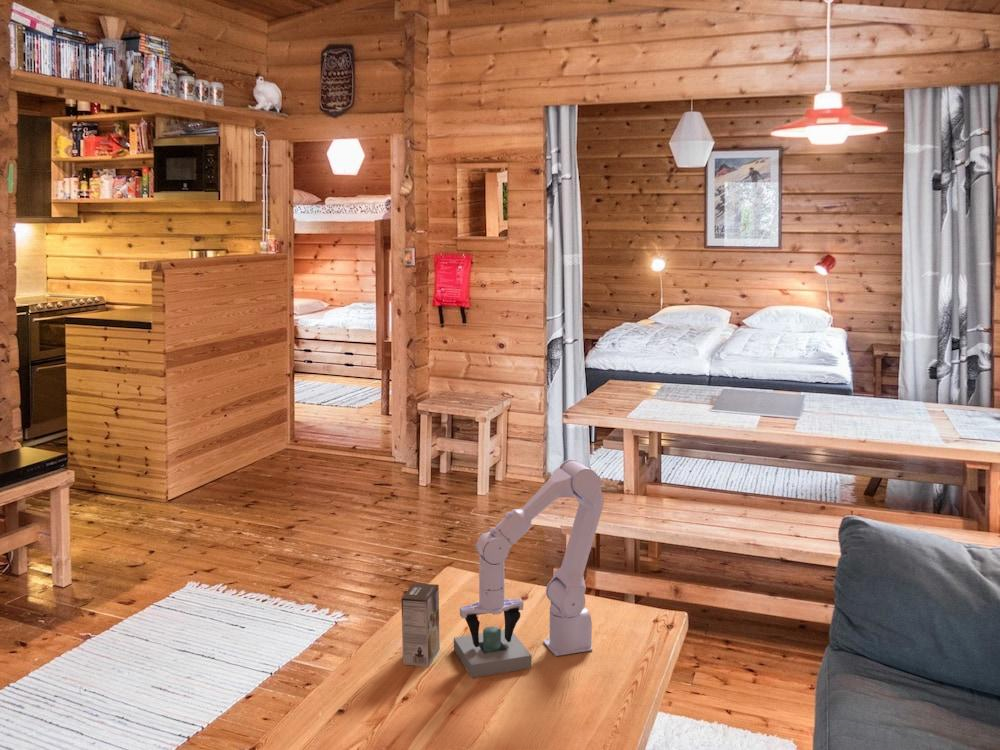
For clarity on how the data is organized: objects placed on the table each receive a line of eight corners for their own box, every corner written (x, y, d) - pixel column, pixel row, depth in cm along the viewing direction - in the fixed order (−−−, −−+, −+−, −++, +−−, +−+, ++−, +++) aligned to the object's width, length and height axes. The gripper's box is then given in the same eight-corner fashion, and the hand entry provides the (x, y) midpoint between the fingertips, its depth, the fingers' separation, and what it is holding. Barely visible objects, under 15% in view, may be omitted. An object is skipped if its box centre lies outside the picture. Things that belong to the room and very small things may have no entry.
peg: (496, 653, 211) (496, 625, 209) (503, 661, 207) (503, 632, 206) (480, 657, 209) (480, 628, 208) (487, 664, 205) (487, 635, 204)
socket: (510, 641, 217) (510, 629, 217) (531, 667, 204) (531, 655, 203) (453, 649, 213) (453, 637, 212) (471, 677, 200) (471, 665, 199)
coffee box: (413, 646, 214) (412, 581, 211) (440, 649, 213) (439, 584, 210) (401, 665, 205) (400, 597, 203) (429, 667, 204) (428, 600, 201)
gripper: (466, 597, 199) (466, 655, 202) (528, 588, 204) (527, 645, 206) (457, 584, 206) (457, 641, 208) (517, 577, 211) (517, 632, 213)
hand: (491, 642), depth 208 cm, fingers open, 7 cm apart
